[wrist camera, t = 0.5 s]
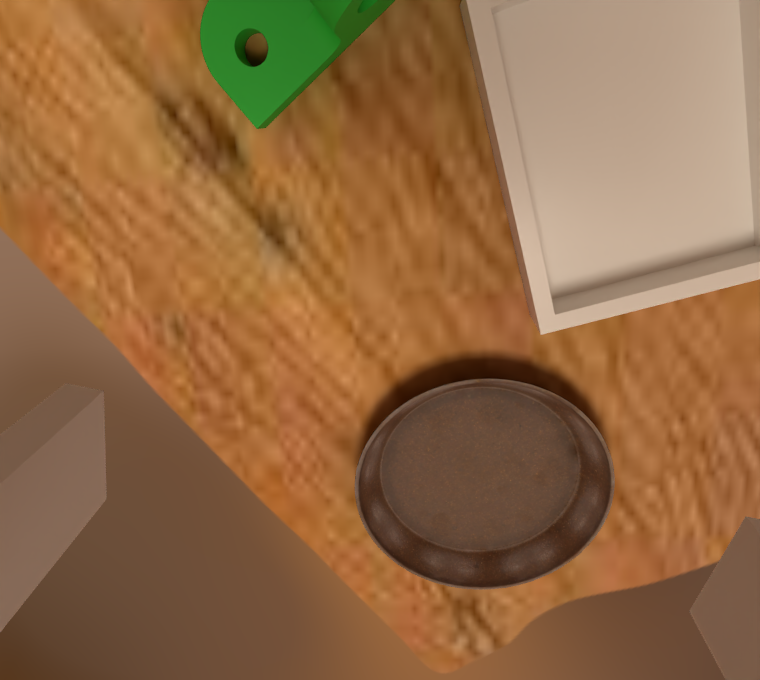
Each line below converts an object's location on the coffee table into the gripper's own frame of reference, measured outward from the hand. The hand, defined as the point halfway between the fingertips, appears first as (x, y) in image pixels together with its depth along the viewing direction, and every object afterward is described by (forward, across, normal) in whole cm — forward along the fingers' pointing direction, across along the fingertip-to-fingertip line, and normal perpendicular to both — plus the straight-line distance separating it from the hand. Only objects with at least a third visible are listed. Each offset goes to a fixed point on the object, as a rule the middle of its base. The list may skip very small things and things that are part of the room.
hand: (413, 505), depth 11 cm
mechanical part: (+25, -9, +11) cm, 29 cm away
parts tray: (+24, +10, +8) cm, 27 cm away
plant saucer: (+24, +8, -16) cm, 30 cm away
